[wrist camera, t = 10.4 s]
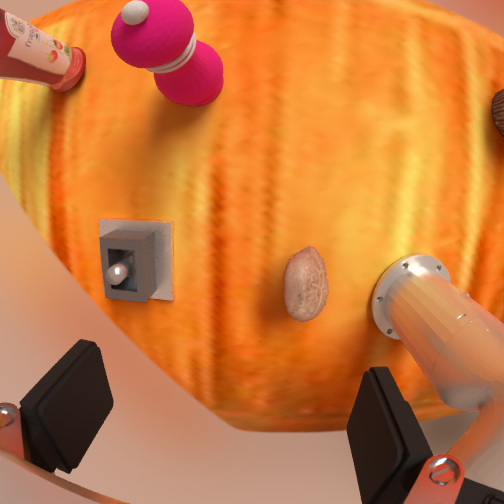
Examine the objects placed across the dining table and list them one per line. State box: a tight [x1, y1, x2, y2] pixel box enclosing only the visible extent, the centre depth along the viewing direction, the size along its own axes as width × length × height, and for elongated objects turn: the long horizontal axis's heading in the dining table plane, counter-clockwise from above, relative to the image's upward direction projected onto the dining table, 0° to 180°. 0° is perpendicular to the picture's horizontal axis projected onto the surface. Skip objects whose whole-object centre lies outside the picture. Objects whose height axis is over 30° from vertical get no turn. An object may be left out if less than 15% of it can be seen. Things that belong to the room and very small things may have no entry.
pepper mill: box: [111, 0, 223, 106], centre depth 22 cm, size 7×7×20 cm
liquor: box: [0, 9, 86, 92], centre depth 17 cm, size 7×7×28 cm
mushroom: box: [283, 247, 329, 322], centre depth 33 cm, size 8×6×8 cm
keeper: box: [99, 218, 175, 301], centre depth 34 cm, size 10×10×7 cm
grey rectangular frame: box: [100, 230, 157, 303], centre depth 35 cm, size 8×6×4 cm
